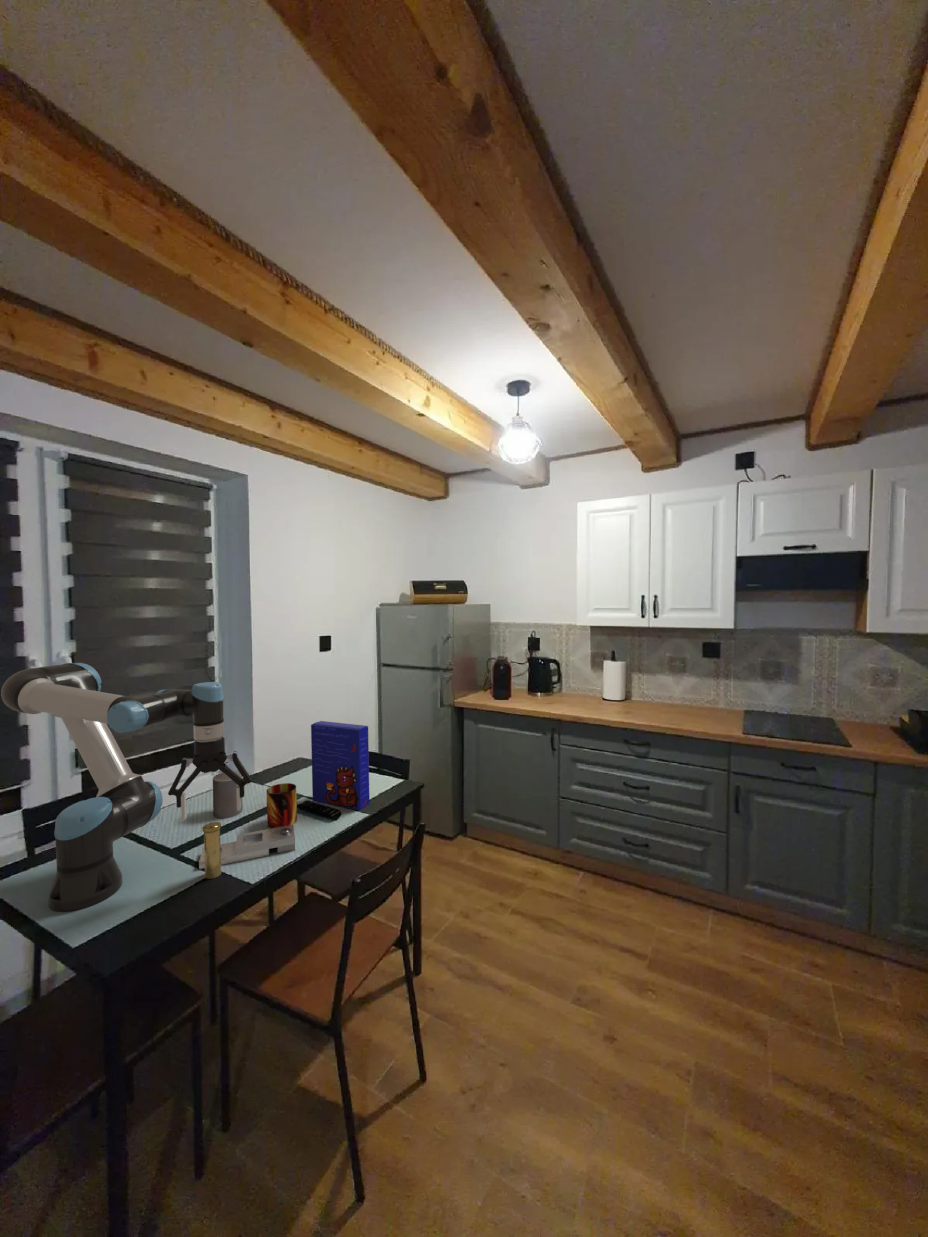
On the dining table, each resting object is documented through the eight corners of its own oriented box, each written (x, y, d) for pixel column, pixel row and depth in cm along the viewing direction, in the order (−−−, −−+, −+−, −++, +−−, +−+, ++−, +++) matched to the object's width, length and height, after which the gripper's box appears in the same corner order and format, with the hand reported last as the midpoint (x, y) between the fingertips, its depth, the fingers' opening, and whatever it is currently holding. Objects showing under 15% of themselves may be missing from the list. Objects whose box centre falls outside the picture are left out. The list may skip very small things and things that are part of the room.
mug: (285, 835, 154) (284, 799, 154) (261, 824, 162) (260, 790, 161) (310, 823, 162) (309, 789, 161) (286, 813, 170) (285, 781, 169)
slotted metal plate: (199, 869, 135) (198, 853, 134) (203, 854, 143) (202, 839, 143) (295, 850, 145) (294, 835, 144) (293, 836, 153) (293, 822, 153)
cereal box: (369, 803, 177) (368, 725, 176) (360, 810, 172) (358, 729, 171) (322, 795, 186) (321, 720, 185) (312, 801, 180) (310, 724, 179)
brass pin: (203, 881, 129) (201, 831, 128) (205, 872, 133) (203, 823, 133) (221, 877, 131) (220, 827, 130) (223, 868, 135) (221, 820, 134)
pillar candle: (210, 812, 172) (208, 772, 171) (238, 804, 178) (237, 765, 177) (217, 821, 164) (216, 779, 164) (246, 813, 171) (245, 772, 170)
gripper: (153, 748, 122) (156, 828, 123) (257, 736, 132) (260, 810, 133) (159, 740, 129) (162, 816, 130) (258, 729, 139) (260, 800, 140)
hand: (212, 813), depth 131 cm, fingers open, 13 cm apart
